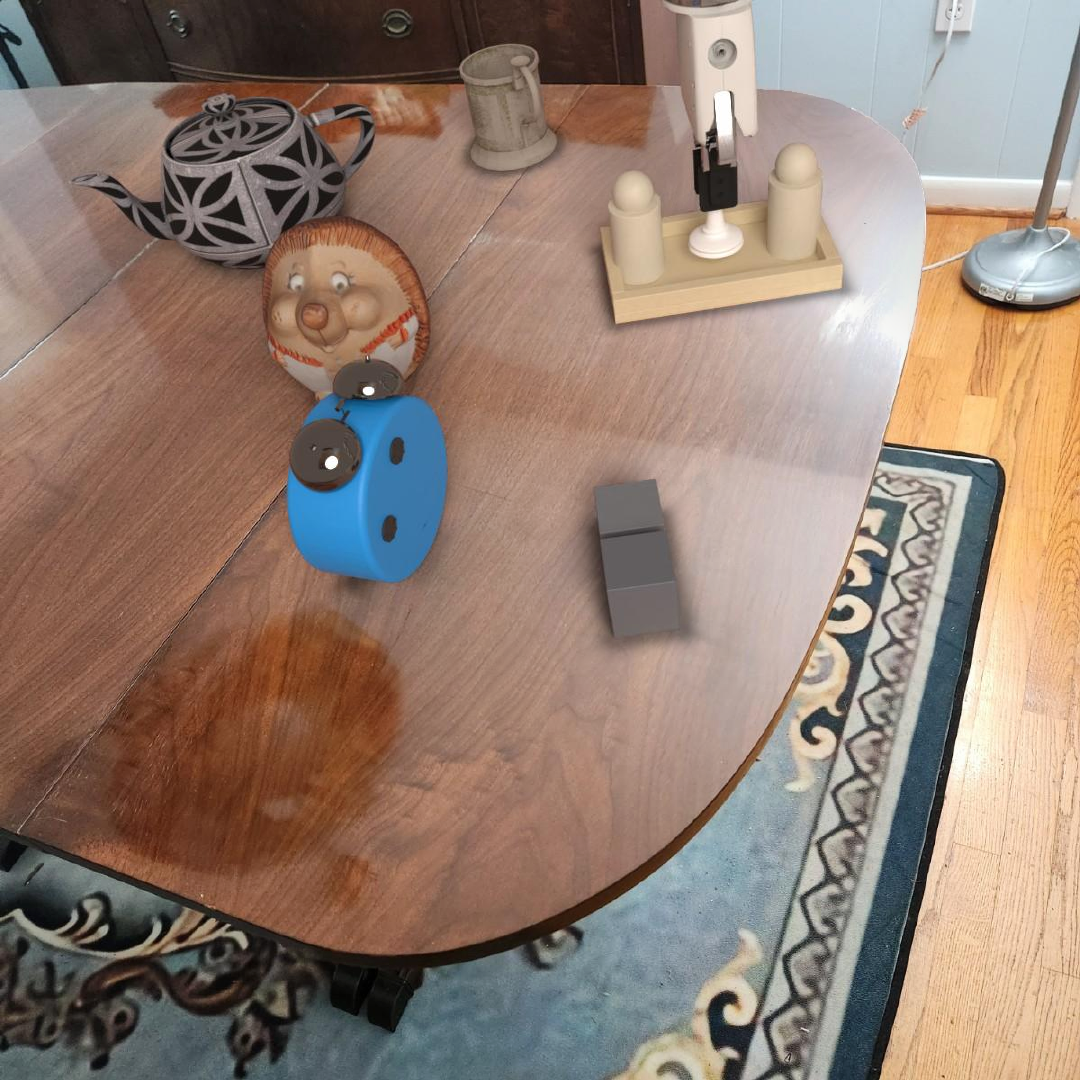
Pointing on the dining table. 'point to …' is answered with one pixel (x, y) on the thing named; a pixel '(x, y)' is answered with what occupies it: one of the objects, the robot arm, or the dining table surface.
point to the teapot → (242, 177)
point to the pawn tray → (744, 277)
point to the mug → (506, 107)
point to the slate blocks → (636, 559)
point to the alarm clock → (367, 477)
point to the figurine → (341, 301)
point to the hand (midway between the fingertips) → (715, 197)
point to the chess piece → (715, 236)
